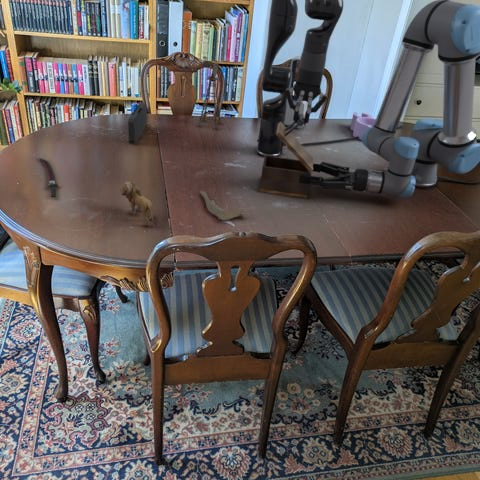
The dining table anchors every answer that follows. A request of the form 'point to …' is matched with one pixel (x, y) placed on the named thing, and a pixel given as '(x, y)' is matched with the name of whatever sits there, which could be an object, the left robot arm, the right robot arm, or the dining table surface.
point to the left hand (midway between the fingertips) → (300, 122)
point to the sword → (52, 181)
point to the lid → (295, 142)
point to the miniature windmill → (212, 79)
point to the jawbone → (218, 211)
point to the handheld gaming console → (137, 122)
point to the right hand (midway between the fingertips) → (299, 171)
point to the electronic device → (294, 98)
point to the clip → (361, 124)
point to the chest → (283, 177)
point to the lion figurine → (137, 201)
